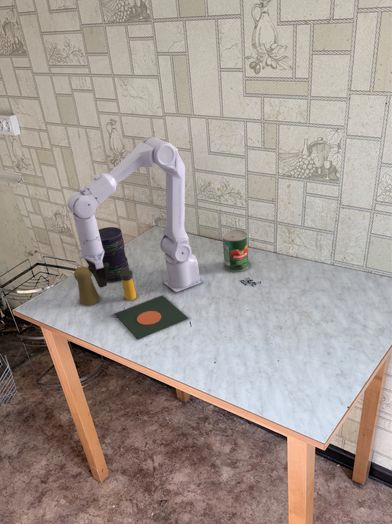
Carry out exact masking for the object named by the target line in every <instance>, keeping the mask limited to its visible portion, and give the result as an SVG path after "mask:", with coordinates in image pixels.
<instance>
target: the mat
mask: <svg viewBox="0 0 392 524" xmlns="http://www.w3.org/2000/svg"><path fill="white" fill-rule="evenodd" d="M114 315H115V316H116V318H117V319H118V320H119V321H120V322H121V323H122V324H123V325H124V326H125V328H126V329H128V331H129V332H130V333H131V334H132V335H133V336H134V338H136V339H137V340H140V339H143V338H145V337H147V336H149V335H152V334H155V333H157V332H160V331H161V330H164V329H167V328H169V327H173V326H174V325H176V324H179V323H182V322H184V321H187V320H189V317H188V316H187V315H186V314H184V313H183V312H182V311H181V310H180V309H179V308H178V307H176V306H175V304H174V303H172V302H171V301H170V300H169V299H167V298H166V297H165V296H164V295H163V294H162V295H160V296H157V297H154V298H152V299H149V300H147V301H144V302H141V303H139V304H136V305H134V306H133V305H132V306H130V307H128V308H126V309H122V310H120V311H118V312H115V313H114Z"/></svg>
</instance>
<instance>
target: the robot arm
mask: <svg viewBox="0 0 392 524" xmlns="http://www.w3.org/2000/svg"><path fill="white" fill-rule="evenodd" d="M155 165H157V166H158V167H159V168H160V169H161V170H162V171H163V172H164V173H165V228H164V229H163V230H162V237H161V238H160V241H159V247H160V250H161V251H162V252H164V260H165V267H166V274H167V280H165V281H163V283H164V285H166V286H167V287H168V288H169V289H170V290H172V291H173V292H174V293H178V292H181V291H183V290H186V289H188V288H191V287H194V286H197V285H199V284H201V283H202V281H201V278H200V269H199V263H198V259H197V257H196V256H195V255H194V253H192V247H191V245H190V239H189V236H188V234H187V232H186V229H185V211H186V210H185V206H186V205H185V204H186V203H185V202H186V165H185V163H184V162H183V160H182V157H181V156H180V154H179V149H178V148H177V147H176V146H174V145H173V144H172V143H171V142H168V141H165V140H162V139H160V138H158V137H156V136H153V135H152V136H147V137H145V139H143V141H141V142H139V143H138V144H137V145H136V146H135V148H133V150H132V151H131V152H130V153H129V154H128V155H127V156H126V157H125V158H123V159H122V161H120V162H119V163H118V164H116V166H115V167H114V168H113V169H112V170H111V171H109V172H108V173H104V172H101V173H100V174H98V173H95V175H94V176H92V178H93V179H92V180H91V181H90V182H88V184H86V185H85V186H84V187H83V186H81V187H80V188H79V191H75V192H72V193H71V194H70V196H69V197H68V199H67V204H66V206H67V208H68V209H69V210H70V211H71V213H72V215H73V216H72V217H73V220H74V226H75V229H76V233H77V234H76V235H77V238H78V241H79V245H80V248H81V253H79V254H78V258H79V259H84V260H85V262H86V263H87V267H88V269H89V271H90V272H91V273H92V276H93V278H94V279H95V281H96V284H97V286H98V287H99V288H100V289H102V288H105V287H107V286H108V282H107V271H108V268H109V264H108V262H107V263H103V262H102V259H103V256H104V249H103V247H102V243H101V238H100V234H99V227H98V226H99V225H98V222H97V219H96V215H95V214H96V211H97V208H98V206H100V205H101V204H102V203H103V202H104V201H106V200H107V199H108V198H109V197H110V196H112V195H113V194H115V192H116V190H117V185H118V184H119V183H121V182H122V181H123V180H125V179H126V178H128V177H129V176H130V175H132V173H134V172H135V171H137V170H138V169H140V168H154V167H155Z"/></svg>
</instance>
